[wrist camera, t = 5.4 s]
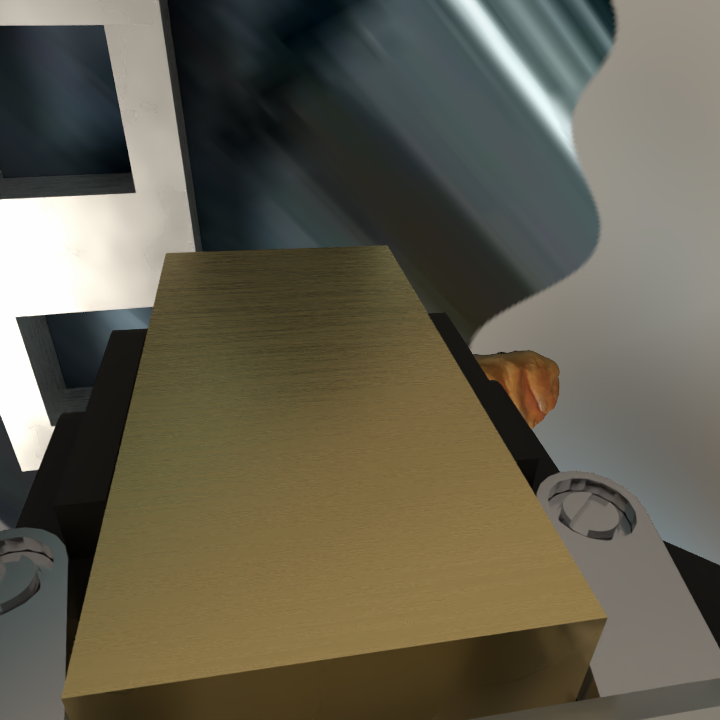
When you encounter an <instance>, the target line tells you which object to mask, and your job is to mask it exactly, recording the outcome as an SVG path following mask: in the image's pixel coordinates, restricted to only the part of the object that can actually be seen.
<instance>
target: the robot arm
mask: <svg viewBox="0 0 720 720" xmlns="http://www.w3.org/2000/svg"><path fill="white" fill-rule="evenodd" d="M428 315H429V317H430V319H431V320H432V322H433V324H434V325H435V327H436V329H437V330H438V332H439V334H440V335H441V337H442V339H443V341H444V342H445V344H446V346H447V347H448V349H449V351H450V352H451V354H452V356H453V357H454V359H455V361H456V362H457V364H458V366H459V367H460V369H461V371H462V373H463V374H464V376H465V378H466V379H467V381H468V383H469V384H470V386H471V388H472V389H473V391H474V393H475V394H476V396H477V398H478V400H479V401H480V403H481V405H482V406H483V408H484V410H485V411H486V413H487V415H488V416H489V418H490V420H491V421H492V423H493V425H494V426H495V428H496V430H497V432H498V433H499V435H500V437H501V438H502V440H503V442H504V443H505V445H506V447H507V448H508V450H509V452H510V453H511V455H512V457H513V458H514V460H515V462H516V464H517V465H518V467H519V469H520V470H521V472H522V474H523V475H524V477H525V479H526V480H527V482H528V484H529V485H530V487H531V489H532V490H533V492H534V494H535V496H536V497H537V499H538V501H539V502H540V504H541V506H542V507H543V509H544V511H545V512H546V514H547V516H548V517H549V519H550V521H551V523H552V524H553V526H554V528H555V529H556V531H557V533H558V534H559V536H560V538H561V539H562V541H563V543H564V544H565V546H566V548H567V549H568V551H569V553H570V555H571V556H572V558H573V560H574V561H575V563H576V565H577V566H578V568H579V570H580V571H581V573H582V575H583V576H584V578H585V580H586V581H587V583H588V585H589V587H590V588H591V590H592V592H593V593H594V595H595V597H596V598H597V600H598V602H599V603H600V605H601V607H602V608H603V610H604V612H605V613H606V615H607V617H608V618H607V621H606V623H605V626H604V629H603V631H602V634H601V636H600V639H599V641H598V644H597V647H596V649H595V652H594V654H593V657H592V659H591V662H590V665H589V667H588V670H587V672H586V675H585V677H584V680H583V683H582V685H581V688H580V690H579V693H578V696H577V698H576V701H575V702H570V703H564V704H558V705H552V706H546V707H540V708H534V709H528V710H522V711H516V712H510V713H504V714H498V715H492V716H486V717H480V718H475V719H469V720H720V565H718V564H716V563H713V562H711V561H709V560H706V559H704V558H702V557H700V556H697V555H695V554H693V553H690V552H688V551H686V550H684V549H681V548H679V547H677V546H674V545H672V544H670V543H668V542H665V541H663V540H662V539H661V537H660V536H659V534H658V532H657V530H656V528H655V526H654V524H653V522H652V520H651V518H650V517H649V515H648V513H647V511H646V509H645V508H644V507H643V505H642V504H641V502H640V501H639V500H638V498H637V497H636V496H635V495H633V494H632V493H631V492H630V491H628V490H627V489H626V488H625V487H624V486H622V485H620V484H618V483H616V482H615V481H613V480H611V479H609V478H606V477H603V476H600V475H597V474H594V473H589V472H581V471H567V472H560V471H559V470H558V468H557V467H556V465H555V464H554V463H553V461H552V459H551V458H550V457H549V455H548V453H547V452H546V450H545V449H544V447H543V446H542V444H541V443H540V442H539V440H538V438H537V437H536V435H535V434H534V432H533V431H532V429H531V428H530V426H529V425H528V423H527V422H526V420H525V419H524V417H523V416H522V414H521V413H520V411H519V410H518V408H517V407H516V405H515V404H514V402H513V401H512V399H511V398H510V396H509V395H508V393H507V392H506V390H505V389H504V388H503V386H502V385H501V384H500V383H499V382H498V381H496V380H489V379H488V377H487V376H486V374H485V373H484V371H483V369H482V368H481V366H480V365H479V363H478V362H477V360H476V359H475V357H474V355H473V354H472V352H471V351H470V349H469V348H468V346H467V345H466V343H465V342H464V340H463V338H462V337H461V335H460V334H459V332H458V331H457V329H456V328H455V326H454V325H453V323H452V321H451V320H450V318H449V317H448V315H447V314H446V313H428ZM147 331H148V329H132V330H114V331H112V333H111V335H110V338H109V341H108V344H107V347H106V350H105V353H104V356H103V359H102V362H101V365H100V368H99V371H98V374H97V377H96V380H95V383H94V386H93V389H92V392H91V395H90V398H89V401H88V404H87V407H86V410H82V411H68V412H64V413H62V414H61V415H60V417H59V419H58V421H57V423H56V426H55V428H54V431H53V433H52V436H51V439H50V441H49V444H48V446H47V449H46V451H45V454H44V457H43V459H42V462H41V464H40V467H39V469H38V472H37V474H36V477H35V480H34V482H33V485H32V487H31V490H30V492H29V495H28V498H27V500H26V503H25V505H24V508H23V510H22V513H21V516H20V518H19V521H18V523H17V526H16V528H15V529H8V530H3V531H0V720H69V717H68V715H67V712H66V710H65V707H64V705H63V702H62V700H61V697H62V693H63V689H64V685H65V680H66V676H67V672H68V668H69V663H70V659H71V655H72V650H73V646H74V642H75V638H76V633H77V629H78V625H79V621H80V616H81V612H82V608H83V604H84V599H85V595H86V591H87V587H88V582H89V578H90V574H91V570H92V565H93V561H94V557H95V553H96V548H97V544H98V540H99V536H100V531H101V527H102V523H103V519H104V514H105V510H106V506H107V501H108V497H109V493H110V489H111V484H112V480H113V476H114V472H115V467H116V463H117V459H118V455H119V450H120V446H121V442H122V438H123V433H124V429H125V425H126V421H127V416H128V412H129V408H130V404H131V399H132V395H133V391H134V387H135V382H136V378H137V374H138V369H139V365H140V361H141V357H142V352H143V348H144V344H145V340H146V335H147Z"/></svg>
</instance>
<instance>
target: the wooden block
mask: <svg viewBox="0 0 720 720" xmlns="http://www.w3.org/2000/svg"><path fill="white" fill-rule="evenodd" d="M607 618H608V617H607V615H606V613H605V612H604V610H603V608H602V607H601V605H600V603H599V602H598V600H597V598H596V597H595V595H594V593H593V592H592V590H591V588H590V587H589V585H588V583H587V581H586V580H585V578H584V576H583V575H582V573H581V571H580V570H579V568H578V566H577V565H576V563H575V561H574V560H573V558H572V556H571V555H570V553H569V551H568V549H567V548H566V546H565V544H564V543H563V541H562V539H561V538H560V536H559V534H558V533H557V531H556V529H555V528H554V526H553V524H552V523H551V521H550V519H549V517H548V516H547V514H546V512H545V511H544V509H543V507H542V506H541V504H540V502H539V501H538V499H537V497H536V496H535V494H534V492H533V490H532V489H531V487H530V485H529V484H528V482H527V480H526V479H525V477H524V475H523V474H522V472H521V470H520V469H519V467H518V465H517V464H516V462H515V460H514V458H513V457H512V455H511V453H510V452H509V450H508V448H507V447H506V445H505V443H504V442H503V440H502V438H501V437H500V435H499V433H498V432H497V430H496V428H495V426H494V425H493V423H492V421H491V420H490V418H489V416H488V415H487V413H486V411H485V410H484V408H483V406H482V405H481V403H480V401H479V400H478V398H477V396H476V394H475V393H474V391H473V389H472V388H471V386H470V384H469V383H468V381H467V379H466V378H465V376H464V374H463V373H462V371H461V369H460V367H459V366H458V364H457V362H456V361H455V359H454V357H453V356H452V354H451V352H450V351H449V349H448V347H447V346H446V344H445V342H444V341H443V339H442V337H441V335H440V334H439V332H438V330H437V329H436V327H435V325H434V324H433V322H432V320H431V319H430V317H429V315H428V314H427V312H426V310H425V309H424V307H423V305H422V303H421V302H420V300H419V298H418V297H417V295H416V293H415V292H414V290H413V288H412V287H411V285H410V283H409V282H408V280H407V278H406V277H405V275H404V273H403V271H402V270H401V268H400V266H399V265H398V263H397V261H396V260H395V258H394V256H393V255H392V253H391V251H390V250H389V248H388V246H359V247H330V248H300V249H271V250H241V251H212V252H182V253H166V255H165V259H164V263H163V267H162V272H161V276H160V280H159V284H158V289H157V293H156V297H155V301H154V306H153V310H152V314H151V318H150V323H149V327H148V331H147V335H146V340H145V344H144V348H143V352H142V357H141V361H140V365H139V369H138V374H137V378H136V382H135V387H134V391H133V395H132V399H131V404H130V408H129V412H128V416H127V421H126V425H125V429H124V433H123V438H122V442H121V446H120V450H119V455H118V459H117V463H116V467H115V472H114V476H113V480H112V484H111V489H110V493H109V497H108V501H107V506H106V510H105V514H104V519H103V523H102V527H101V531H100V536H99V540H98V544H97V548H96V553H95V557H94V561H93V565H92V570H91V574H90V578H89V582H88V587H87V591H86V595H85V599H84V604H83V608H82V612H81V616H80V621H79V625H78V629H77V633H76V638H75V642H74V646H73V650H72V655H71V659H70V663H69V668H68V672H67V676H66V680H65V685H64V689H63V693H62V697H61V700H62V702H63V705H64V707H65V710H66V712H67V715H68V717H69V720H469V719H475V718H480V717H486V716H492V715H498V714H504V713H510V712H516V711H522V710H528V709H534V708H540V707H546V706H552V705H558V704H564V703H570V702H575V701H576V698H577V696H578V693H579V690H580V688H581V685H582V683H583V680H584V677H585V675H586V672H587V670H588V667H589V665H590V662H591V659H592V657H593V654H594V652H595V649H596V647H597V644H598V641H599V639H600V636H601V634H602V631H603V629H604V626H605V623H606V621H607Z"/></svg>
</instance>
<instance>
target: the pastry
mask: <svg viewBox="0 0 720 720" xmlns="http://www.w3.org/2000/svg"><path fill="white" fill-rule="evenodd" d="M473 355H474V357H475V359H476V360H477V362H478V363H479V365H480V366H481V368H482V369H483V371H484V373H485V374H486V376H487V377H488V379H489V380H496V381H498V382H499V383H500V384H501V385H502V386H503V388H504V389H505V390H506V392H507V393H508V395H509V396H510V398H511V399H512V401H513V402H514V404H515V405H516V407H517V408H518V410H519V411H520V413H521V414H522V416H523V417H524V419H525V420H526V422H527V423H528V425H529V426H530V428H531V429H533V427H535V426H536V425H537V424H538V423H539V422H541V421H542V420H543V419H544V417H545V416H546V415H547V413H548V412H549V411H550V410H552V409H553V408H554V407H555V405H556V402H557V398H558V395H559V379H558V376H559V368H558V366H557V364H556V363H555V362H554V361H552V360H550V359H548V358H546V357H544V356H542V355H540V354H538V353H536V352H533V351H529V350H528V351H516V350H515V351H513V352H510V353H506V352H498V353H497V354H491V355H478V354H473Z"/></svg>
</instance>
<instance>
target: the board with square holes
mask: <svg viewBox="0 0 720 720" xmlns="http://www.w3.org/2000/svg"><path fill="white" fill-rule="evenodd" d="M10 25H104V28H105V33H106V38H107V43H108V49H109V54H110V59H111V64H112V70H113V75H114V80H115V85H116V90H117V96H118V101H119V106H120V111H121V117H122V122H123V127H124V132H125V138H126V143H127V148H128V153H129V159H130V164H131V169H132V173H113V174H89V175H66V176H42V177H19V178H3V175H2V172H1V169H0V414H1V416H2V419H3V422H4V424H5V427H6V430H7V432H8V435H9V437H10V440H11V443H12V445H13V448H14V451H15V453H16V456H17V459H18V461H19V464H20V467H21V469H22V471H29V470H38V469H39V467H40V464H41V462H42V459H43V457H44V454H45V451H46V449H47V446H48V444H49V441H50V439H51V436H52V433H53V431H54V428H55V426H56V423H57V421H58V419H59V417H60V415H61V414H62V413H64V412H68V411H82V410H86V407H87V404H88V401H89V398H90V395H91V392H92V389H93V386H90V387H79V388H68V389H67V388H66V385H65V381H64V378H63V375H62V371H61V368H60V365H59V361H58V358H57V355H56V352H55V348H54V345H53V342H52V338H51V335H50V332H49V328H48V325H47V322H46V318H45V315H47V314H60V313H73V312H87V311H100V310H113V309H127V308H140V307H153V306H154V301H155V297H156V293H157V289H158V284H159V280H160V276H161V272H162V267H163V263H164V259H165V255H166V253H182V252H203V251H202V244H201V237H200V230H199V222H198V215H197V208H196V201H195V194H194V187H193V180H192V173H191V166H190V158H189V151H188V144H187V137H186V130H185V123H184V116H183V109H182V102H181V94H180V87H179V80H178V73H177V66H176V59H175V52H174V45H173V38H172V30H171V23H170V16H169V9H168V2H167V0H0V26H10Z"/></svg>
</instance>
